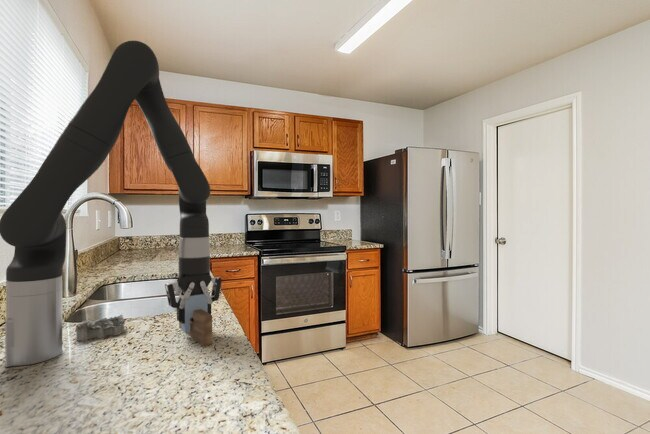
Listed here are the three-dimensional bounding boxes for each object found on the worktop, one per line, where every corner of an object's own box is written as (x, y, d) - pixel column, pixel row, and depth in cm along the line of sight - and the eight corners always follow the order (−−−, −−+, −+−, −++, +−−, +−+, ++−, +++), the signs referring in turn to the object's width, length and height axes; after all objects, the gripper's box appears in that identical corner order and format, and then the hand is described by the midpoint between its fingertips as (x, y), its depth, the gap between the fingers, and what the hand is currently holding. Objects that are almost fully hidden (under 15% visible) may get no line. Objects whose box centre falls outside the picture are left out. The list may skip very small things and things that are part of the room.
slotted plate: (203, 346, 79) (203, 316, 79) (179, 327, 93) (179, 301, 93) (212, 344, 80) (212, 315, 80) (186, 325, 94) (186, 300, 94)
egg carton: (73, 343, 82) (73, 326, 82) (76, 334, 88) (76, 318, 88) (124, 334, 87) (124, 319, 87) (124, 326, 94) (123, 312, 94)
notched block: (185, 333, 83) (185, 297, 83) (181, 330, 86) (181, 294, 86) (207, 328, 87) (207, 293, 87) (203, 325, 89) (203, 291, 89)
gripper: (169, 258, 79) (169, 330, 79) (227, 253, 88) (227, 318, 88) (160, 255, 84) (160, 322, 85) (215, 251, 94) (215, 312, 94)
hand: (194, 320), depth 86 cm, fingers closed on notched block, 5 cm apart
